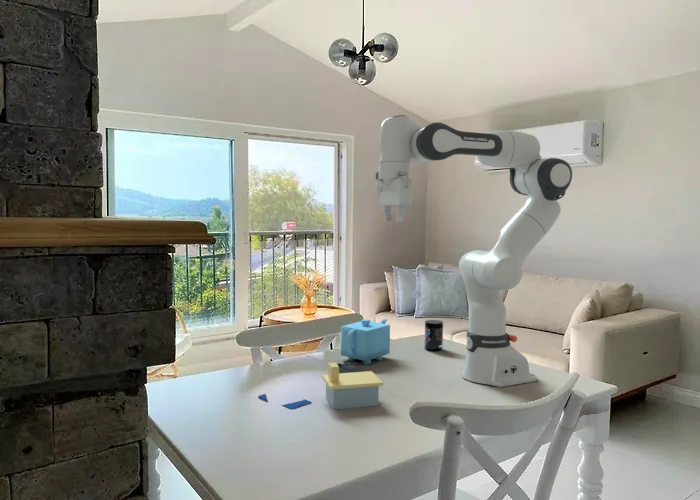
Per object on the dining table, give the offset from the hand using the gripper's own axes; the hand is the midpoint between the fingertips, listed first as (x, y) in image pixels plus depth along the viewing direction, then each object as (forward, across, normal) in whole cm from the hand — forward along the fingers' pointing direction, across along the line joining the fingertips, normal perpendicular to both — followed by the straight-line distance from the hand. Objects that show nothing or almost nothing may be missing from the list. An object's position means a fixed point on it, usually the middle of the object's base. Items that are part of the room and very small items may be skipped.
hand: (393, 221), depth 154 cm
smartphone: (+48, -6, +32) cm, 59 cm away
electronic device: (+48, +8, +9) cm, 50 cm away
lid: (+42, -12, +15) cm, 46 cm away
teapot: (+48, +29, -2) cm, 56 cm away
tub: (+48, -12, +15) cm, 52 cm away
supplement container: (+48, +35, -29) cm, 66 cm away
